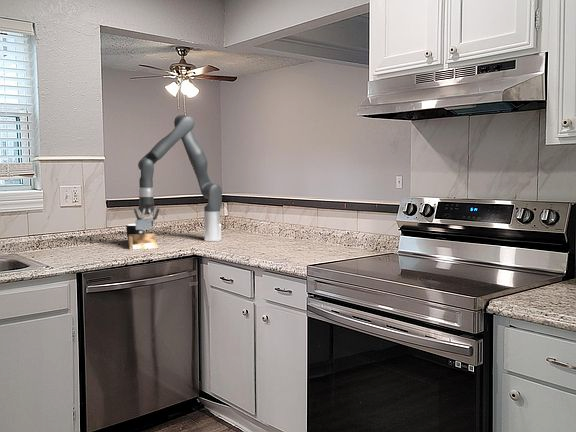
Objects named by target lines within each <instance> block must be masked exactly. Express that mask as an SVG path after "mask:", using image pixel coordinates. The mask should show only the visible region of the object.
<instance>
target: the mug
mask: <svg viewBox="0 0 576 432" xmlns="http://www.w3.org/2000/svg"><path fill="white" fill-rule="evenodd" d="M125 227H126V229H125V230H126V237H127V238H126V239H128V235H129V234H144V233H143V232H144V230H136V223H130V224H126V226H125Z"/></svg>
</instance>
